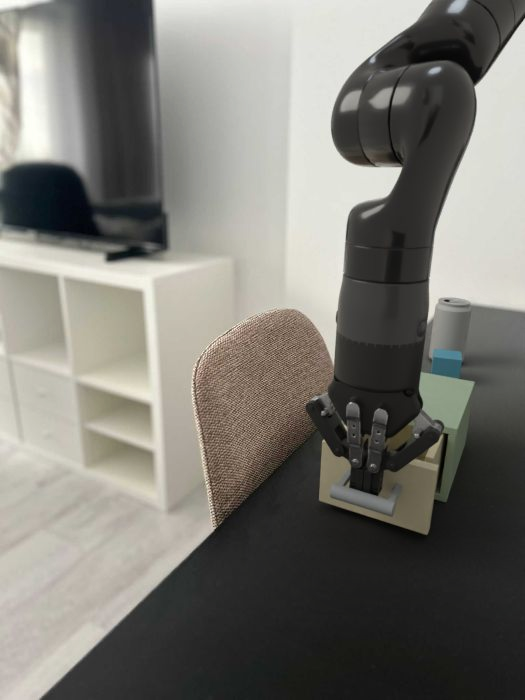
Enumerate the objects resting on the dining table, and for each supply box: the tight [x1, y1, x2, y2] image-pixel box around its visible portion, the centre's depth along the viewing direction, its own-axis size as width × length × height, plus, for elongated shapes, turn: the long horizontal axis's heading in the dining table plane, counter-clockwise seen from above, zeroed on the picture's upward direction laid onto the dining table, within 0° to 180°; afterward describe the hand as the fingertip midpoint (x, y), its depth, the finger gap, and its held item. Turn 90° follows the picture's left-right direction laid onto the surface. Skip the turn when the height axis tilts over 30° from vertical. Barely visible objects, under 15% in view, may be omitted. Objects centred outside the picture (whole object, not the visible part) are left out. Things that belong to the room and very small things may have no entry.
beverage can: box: [428, 296, 472, 363], centre depth 97 cm, size 6×6×12 cm
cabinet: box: [341, 371, 476, 503], centre depth 64 cm, size 15×13×9 cm
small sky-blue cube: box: [430, 349, 463, 379], centre depth 89 cm, size 5×5×5 cm
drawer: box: [318, 425, 449, 536], centre depth 55 cm, size 18×11×7 cm, turn 152°
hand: (364, 497), depth 50 cm, fingers closed
